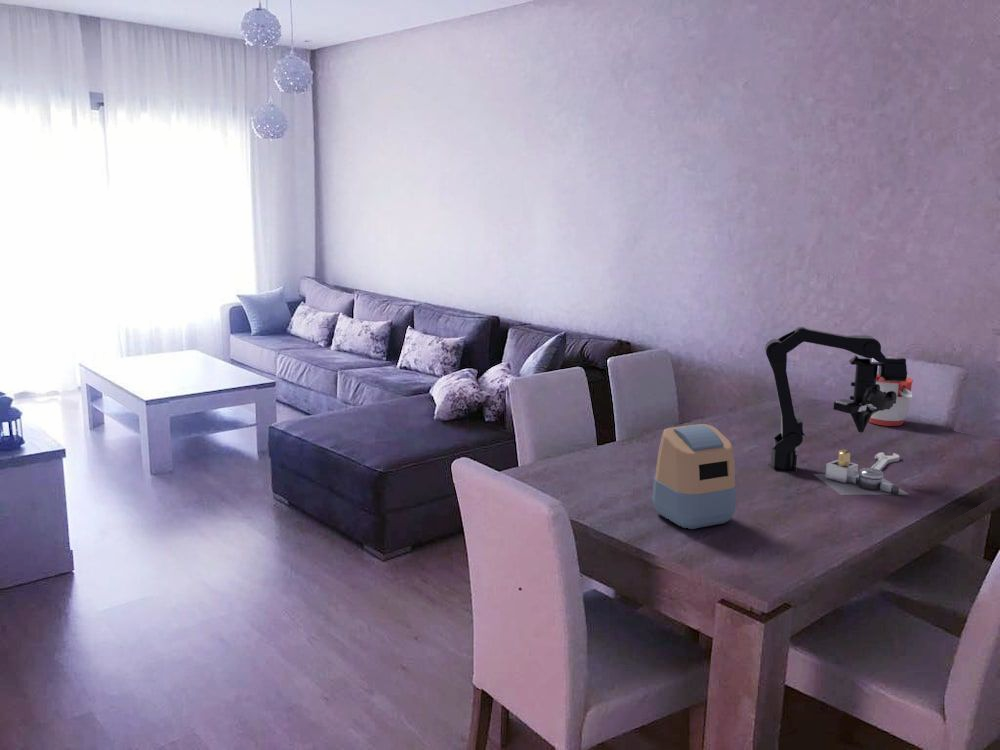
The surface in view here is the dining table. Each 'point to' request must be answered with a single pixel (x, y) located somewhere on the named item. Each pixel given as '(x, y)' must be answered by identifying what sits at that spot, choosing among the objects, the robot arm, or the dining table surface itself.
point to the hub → (870, 479)
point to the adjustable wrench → (884, 460)
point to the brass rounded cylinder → (843, 458)
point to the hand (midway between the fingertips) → (860, 432)
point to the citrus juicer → (900, 409)
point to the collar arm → (852, 476)
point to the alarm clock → (695, 477)
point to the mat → (854, 487)
